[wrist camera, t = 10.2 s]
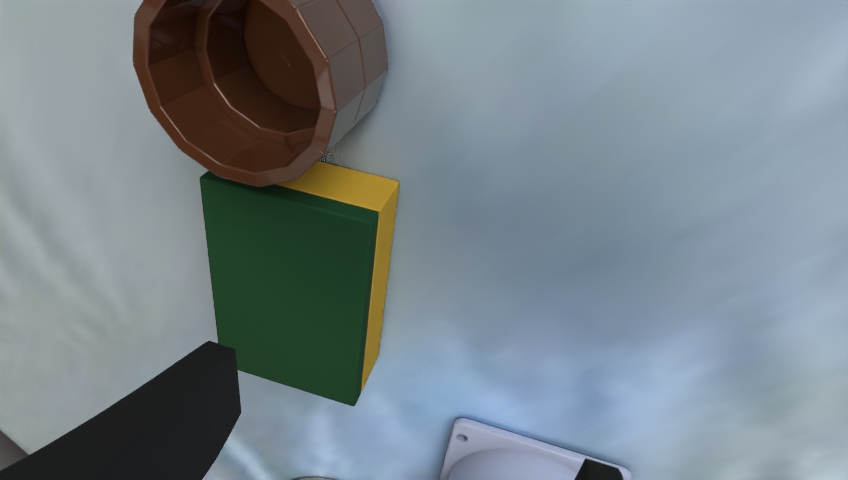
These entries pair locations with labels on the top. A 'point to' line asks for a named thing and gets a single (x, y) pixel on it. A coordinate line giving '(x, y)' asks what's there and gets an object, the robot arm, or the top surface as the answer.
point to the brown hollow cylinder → (259, 79)
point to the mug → (314, 478)
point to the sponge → (302, 275)
